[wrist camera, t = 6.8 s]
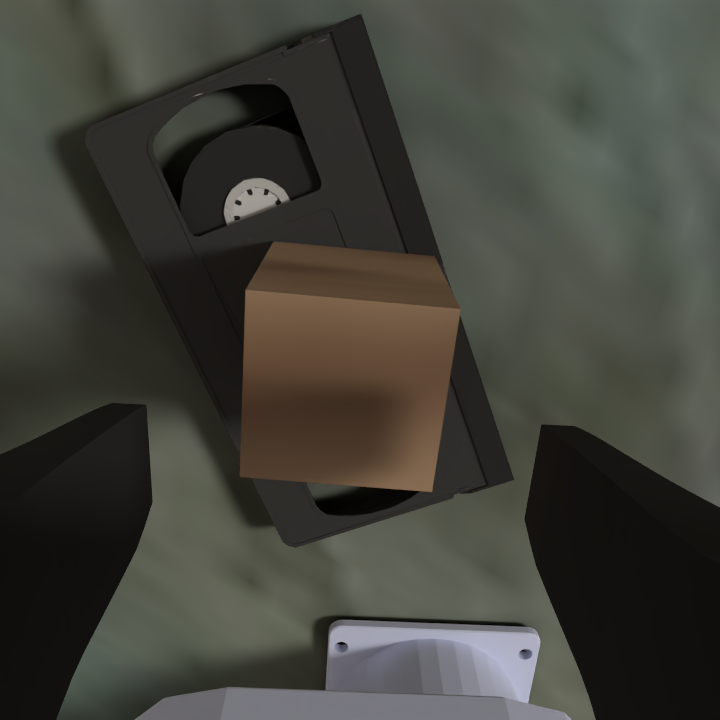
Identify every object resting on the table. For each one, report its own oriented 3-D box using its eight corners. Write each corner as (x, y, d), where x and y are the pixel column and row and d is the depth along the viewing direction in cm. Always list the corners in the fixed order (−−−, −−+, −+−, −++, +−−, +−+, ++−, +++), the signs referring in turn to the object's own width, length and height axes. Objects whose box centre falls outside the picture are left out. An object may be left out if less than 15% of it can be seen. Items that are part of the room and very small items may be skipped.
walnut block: (414, 401, 20) (431, 492, 15) (267, 388, 20) (239, 476, 15) (434, 256, 18) (460, 308, 14) (273, 241, 18) (245, 289, 14)
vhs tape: (103, 128, 19) (77, 130, 17) (360, 22, 18) (360, 13, 16) (291, 516, 24) (286, 551, 22) (500, 449, 23) (514, 479, 21)
